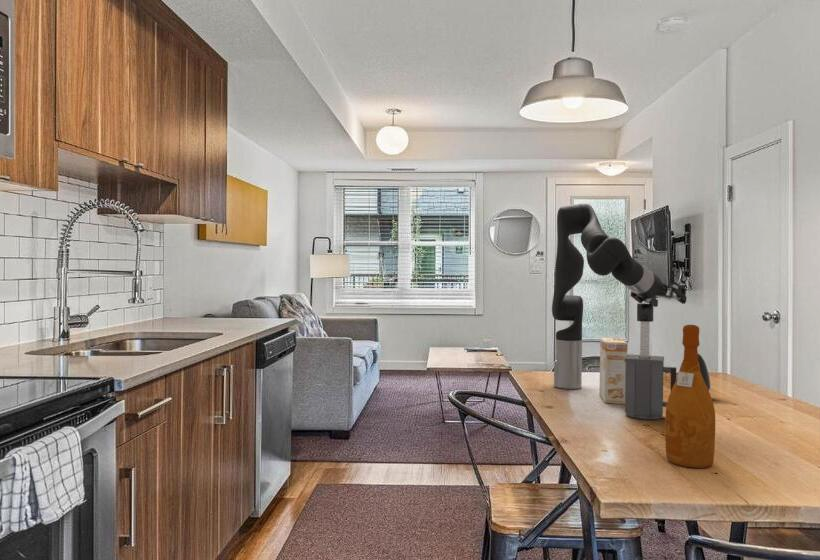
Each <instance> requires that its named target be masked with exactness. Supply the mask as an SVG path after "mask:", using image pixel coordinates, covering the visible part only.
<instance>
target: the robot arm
mask: <svg viewBox="0 0 820 560" xmlns="http://www.w3.org/2000/svg"><path fill="white" fill-rule="evenodd" d="M556 217H557V218H556V233H557V239H556V244H557V245H556V246H557V247H556V255H555V266H554V268H555V269H554V290H553V297H552V305H551V313H552V314H551V315H552V318H554V320H556V321H560V322H562V321H564V322H572V324H571V325H570V326H568V327H565V328H563V329H559V330H558V331H556V333H555V359H554V361H553V367H554V368H553V387H554V388H560V389H564V390H565V389H566V390H567V389H568V390H578V389H581V388H582V387H583V386H582V383H583V382H582V379H583V378H582V376H583V375H582V373H583V370H582V369H583V368H582V367H583V365H582V364H583V359H582V358H583V357H582V356H583V318H584V317H583V316H584V301H583V297H582V296H581V295H573V294H572V295H571V294H570V295H567V293H568V292H569V291H571V290H572V289H573V288H574V287H575V286H576V285H577V284H578V283H579V282H580V281H581V279H582V278H583V275H584V267H585V266H584V265H585V259H584V257H583V254H582V253H581V251H579V249H578V248H577V246H575V245H574V243H572V241H571V238H570V236H571V235H579V234H581V235H580V242H581V244H582V245H581V246H582V247H583V248H584V250H585V251H586V261H587V264H588V266H589V268H590V270H591V271H592V272H593V273H595V274H596V275H597V276H602V277H603V276H604V277H605V276H608V275H610V274H611V275H612V276H613V278H614V279H615V280H617V281H619V283H621V284H623V285H624V286H625V287H626V288H627V289H628V290H630V297H632V299H633V300H634V301H636V302H637V303H643V302H644V303H646V304H654V305H653V308H657V307H658V306H659V300H658V298H662V299H663V298H664V299H667V300H671V299H674V300H676V301H678V302H679V303H681V304H682V305H683V304H686V302H687V298H688V297H687V296H686V294H687V293H686V292H687V291H686V290H687V289H686V288H685V287H683V286H682V285H681V284H679V283H677V282H676V281H672V282H671V284H669V285H667V284H666V283H663V282H662V280H661V277H659V276H658V275H657V274H655V273H654V272H653V271H651V270H650V269H649V268H648V267H646V266H645V265H643V264H641V263H640V262H638V261H636V260H635V259H634V258H633V256H632V255H631V253H630V251H629V250H628V248H627V246H626V245H625V243H624V242H623V241H622V240H620V239H619V238H617V237H614V236H613V237H609V236H608V234H607V233H606V232H605V231H604V230H603V228H602V226H601V223H600V220H599V219H598V216H597V214H596V211H595V210H594V208H593V207H592V205H591V204H589V203H575V204H568V205H563V206H560V207H559V208H558V210H557V215H556ZM667 293H668V294H667ZM674 294H675V295H674Z"/></svg>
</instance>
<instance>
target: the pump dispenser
mask: <svg viewBox="0 0 820 560" xmlns="http://www.w3.org/2000/svg"><path fill="white" fill-rule="evenodd" d="M698 362H699V365H700V372H701V374H702V377H703V379H704V381H705V384H706V386H707V388H708V390H709V391H710V390H711V379H710V374H709V371H708V367H707V364H706V362H705V359H704V357H703V356H702V355H701V354H700V353H698ZM682 363H683V360H682V361H681V364H680V367H679V371H678V374H679V372H680V370H681V365H682ZM678 374H677V375H678Z"/></svg>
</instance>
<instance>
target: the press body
mask: <svg viewBox="0 0 820 560" xmlns="http://www.w3.org/2000/svg"><path fill="white" fill-rule="evenodd" d="M625 362H626V374H625V404H624V413H625V416H626V417H628V418H631V419H634V420H635V419H636V420H640V421H641V420H642V421H660V420H663V418H664V408H666V405H667V401H665V400H664V373H665V372H667V373H670V391H671V390H672V388H673V386H674V384H675V382H676V380H677V367H675V366H664V364H665V363H664V362H665V356H663V355H661V356H660V355H649V358H640V354H629V353H627V356H626V357H625Z"/></svg>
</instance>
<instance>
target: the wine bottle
mask: <svg viewBox="0 0 820 560" xmlns="http://www.w3.org/2000/svg"><path fill="white" fill-rule="evenodd" d="M681 344H682V345H683V347H684V348H683V360H682V361H683V363H682V362H681V364H682V365H681V364H680V367H681V370H680V369H679V370H680V372H679V371H678V373H679V374H677V377H676V382H675V384H674V386H673V388H672V390H671V389H670V392H669V396H668V399H667V401H666V402H667V405H666V407H665V417H664V418H665V422H664V423H665V427H664V428H665V429H664V430H665V435H664V436H665V439H664V440H665V455H666V456H665V457H666V459H667V461H669V462H670V463H673V464H675V465H677V466H680V467H686V468H690V469H691V468H692V469H705V468H709V467H711V466H712V465H713V464H714V460H715V447H716V411H715V406H714V403H713V398H712V395H711V393H710V389H709V390H708V388H707V386H706V384H705V381H704V379H703V377H702V374H701V372H700V365H699V362H698V354H699V351H698V347H699V346H700V327H699V326H698V325H695V324H686V325H684V326H683V328H682V343H681Z"/></svg>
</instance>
